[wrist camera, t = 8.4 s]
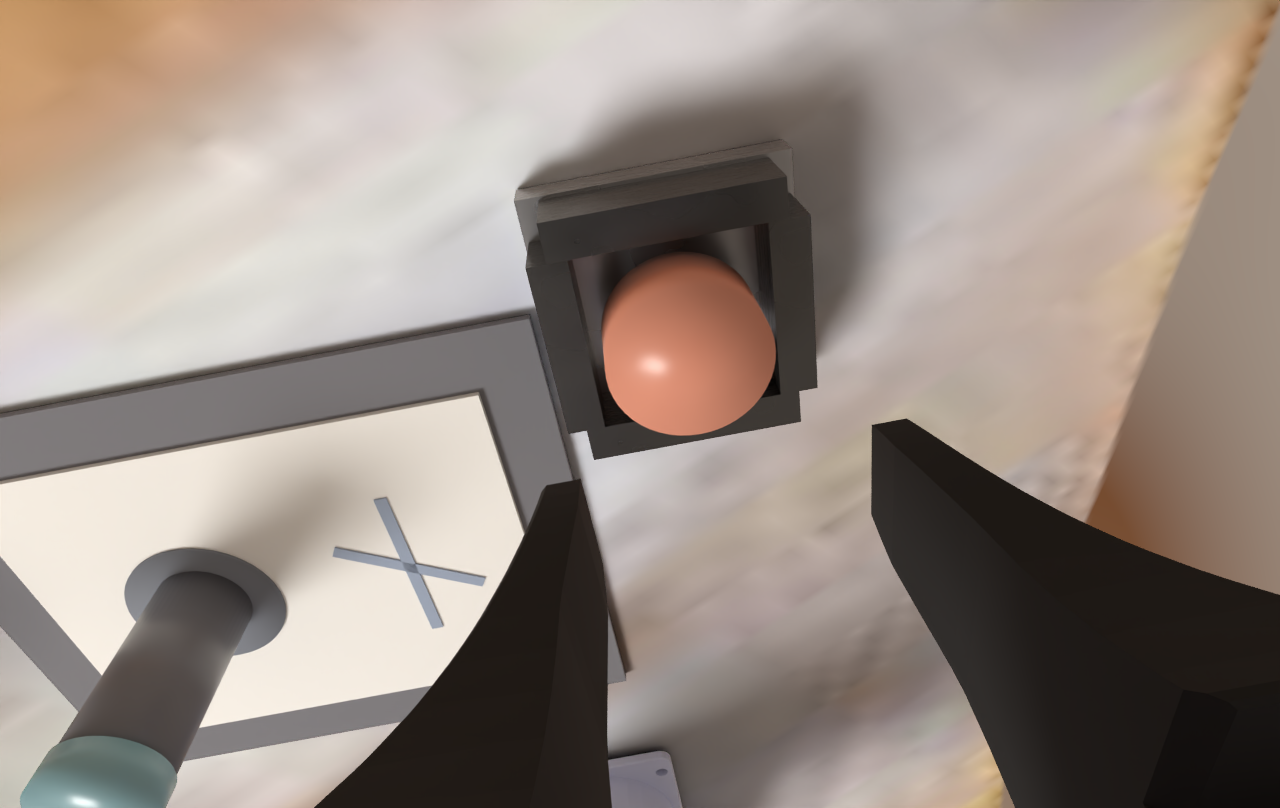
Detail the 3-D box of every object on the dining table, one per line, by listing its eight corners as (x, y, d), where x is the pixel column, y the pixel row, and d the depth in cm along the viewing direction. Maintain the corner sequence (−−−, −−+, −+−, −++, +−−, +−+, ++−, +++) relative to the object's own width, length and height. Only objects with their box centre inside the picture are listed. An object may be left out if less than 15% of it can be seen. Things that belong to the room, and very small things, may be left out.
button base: (795, 371, 23) (822, 420, 21) (572, 413, 23) (573, 466, 21) (782, 139, 19) (812, 166, 17) (515, 189, 19) (509, 223, 17)
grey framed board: (625, 674, 30) (626, 687, 29) (135, 763, 30) (128, 777, 29) (529, 314, 21) (528, 323, 21) (-154, 442, 21) (-172, 454, 21)
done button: (762, 379, 20) (780, 419, 18) (616, 406, 20) (621, 448, 18) (750, 237, 18) (769, 268, 16) (586, 268, 18) (589, 301, 16)
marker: (271, 628, 26) (182, 832, 20) (181, 643, 26) (66, 852, 20) (230, 561, 24) (119, 763, 18) (133, 578, 24) (-8, 785, 18)
